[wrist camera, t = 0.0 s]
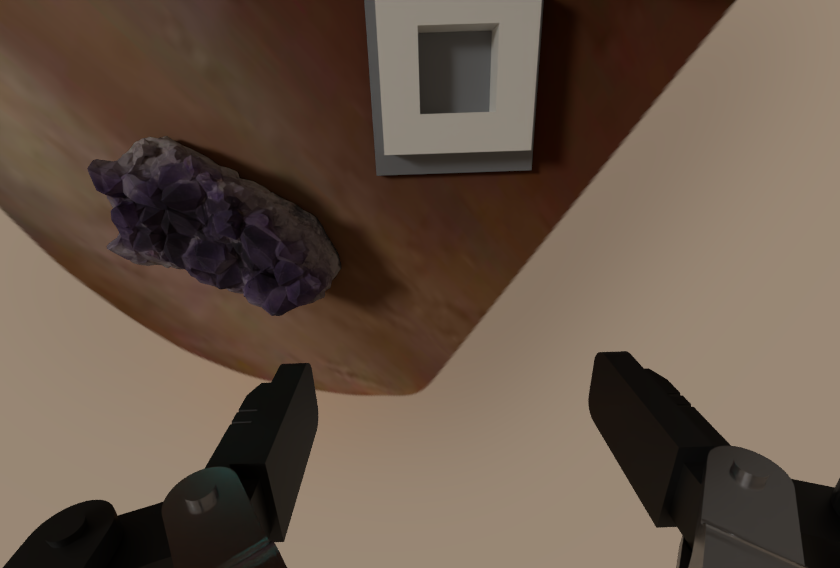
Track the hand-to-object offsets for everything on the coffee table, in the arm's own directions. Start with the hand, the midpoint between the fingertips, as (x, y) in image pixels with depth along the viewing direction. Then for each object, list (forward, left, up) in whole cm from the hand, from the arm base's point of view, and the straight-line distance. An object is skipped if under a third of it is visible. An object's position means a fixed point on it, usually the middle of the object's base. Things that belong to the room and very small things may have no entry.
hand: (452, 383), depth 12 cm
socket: (-10, +3, -29) cm, 31 cm away
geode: (+2, -17, -30) cm, 34 cm away
